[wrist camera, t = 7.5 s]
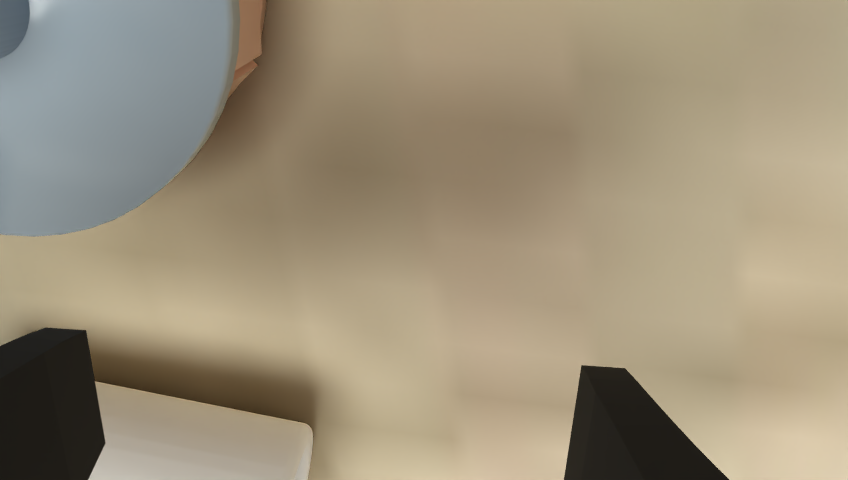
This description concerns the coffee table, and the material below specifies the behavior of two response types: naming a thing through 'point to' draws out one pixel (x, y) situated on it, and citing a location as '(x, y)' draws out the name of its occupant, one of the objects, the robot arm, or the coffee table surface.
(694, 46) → the coffee table surface
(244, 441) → the mug
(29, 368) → the robot arm
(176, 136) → the lid
